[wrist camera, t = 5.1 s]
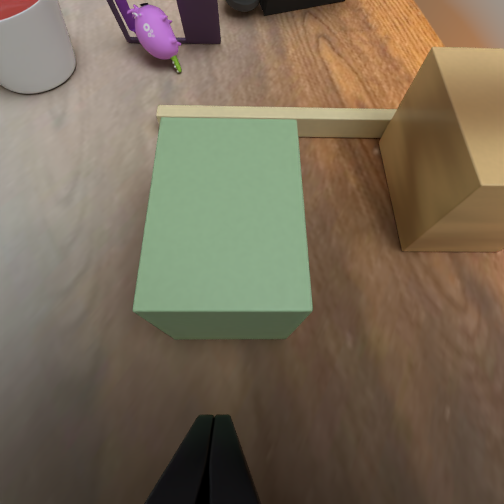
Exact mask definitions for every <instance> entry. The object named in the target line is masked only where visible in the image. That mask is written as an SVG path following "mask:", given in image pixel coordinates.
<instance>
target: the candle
mask: <svg viewBox="0 0 504 504" xmlns="http://www.w3.org/2000/svg"><path fill="white" fill-rule="evenodd" d="M75 65H76V58H75V53H74V50H73V46H72V43H71V40H70V37H69V33H68V30H67V27H66V24H65V21H64V18H63V14H62V11H61V8H60V5H59V2H58V0H0V84H1V85H2V86H3V87H5V88H7V89H8V90H11V91H14V92H17V93H25V94H31V93H40V92H44V91H47V90H50V89H53V88H55V87H57V86H59V85H60V84H62V83H63V82H65V81H66V80H67V79H68V78H69V77H70V76H71V74H72V73H73V71H74V69H75Z"/></svg>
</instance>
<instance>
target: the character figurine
mask: <svg viewBox="0 0 504 504" xmlns="http://www.w3.org/2000/svg"><path fill="white" fill-rule="evenodd" d="M341 1H345V0H226V2H227V3H228V4H229V5H230V6H231V7H232V8H234V9H235V10H238V11H243V12H246V11H250V10H253V9H254V8H255V7H256V6H257V5H258V4H259V3H260V6H261V9H262V10H263V13H264V16H265V15H271V14H276V13H282V12H287V11H293V10H298V9H303V8H309V7H314V6H320V5H325V4H331V3H336V2H341Z"/></svg>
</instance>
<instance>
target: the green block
mask: <svg viewBox="0 0 504 504" xmlns="http://www.w3.org/2000/svg"><path fill="white" fill-rule="evenodd" d="M312 311H313V306H312V294H311V283H310V271H309V259H308V247H307V235H306V223H305V212H304V200H303V188H302V176H301V164H300V152H299V141H298V129H297V120H295V119H239V118H180V117H161V119H160V126H159V133H158V140H157V147H156V153H155V160H154V167H153V174H152V181H151V187H150V194H149V201H148V208H147V215H146V222H145V228H144V235H143V242H142V249H141V256H140V262H139V269H138V276H137V283H136V290H135V296H134V303H133V312H135V313H136V314H138V315H139V316H141V317H142V318H144V319H145V320H147V321H148V322H150V323H151V324H153V325H154V326H156V327H157V328H159V329H160V330H162V331H163V332H165V333H166V334H168V335H169V336H171V337H172V338H174V339H287V337H288V336H289V335H290V334H291V333H292V332H293V331H294V330H295V329H296V328H297V327H298V326H299V325H300V324H301V323H302V322H303V321H304V320H305V319H306V317H307V316H308V315H309V314H310V313H311V312H312Z"/></svg>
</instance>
